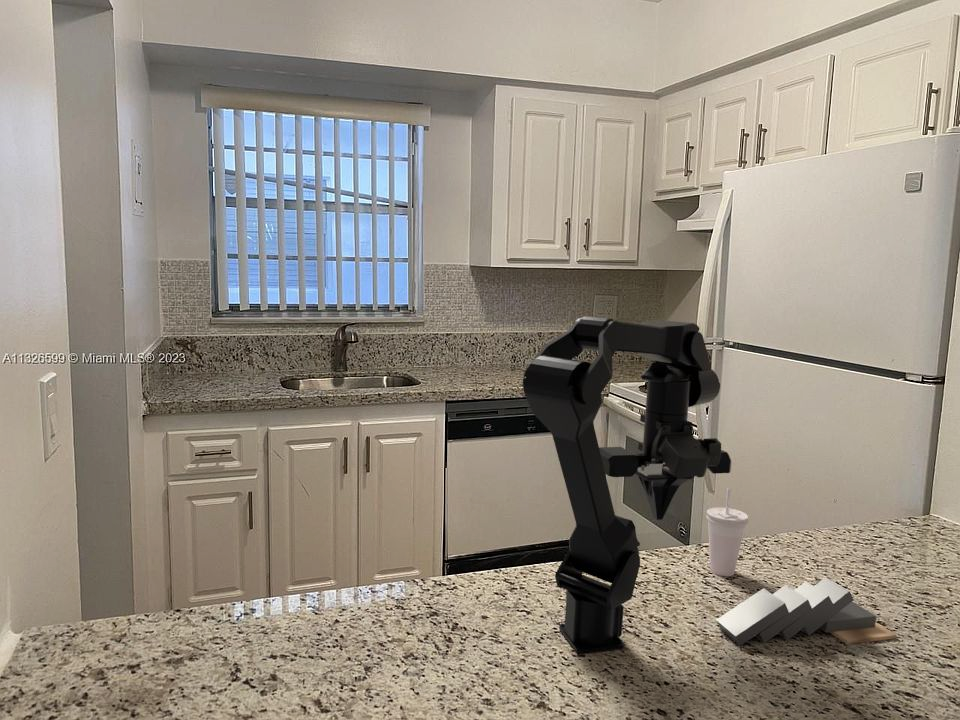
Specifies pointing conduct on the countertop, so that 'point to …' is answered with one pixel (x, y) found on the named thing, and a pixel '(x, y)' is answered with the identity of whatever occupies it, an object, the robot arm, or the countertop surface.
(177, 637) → the countertop surface
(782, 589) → the tile
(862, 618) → the tile
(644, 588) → the countertop surface
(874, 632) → the pad
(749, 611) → the tile
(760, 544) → the countertop surface
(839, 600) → the tile
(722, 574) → the smoothie
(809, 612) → the tile
